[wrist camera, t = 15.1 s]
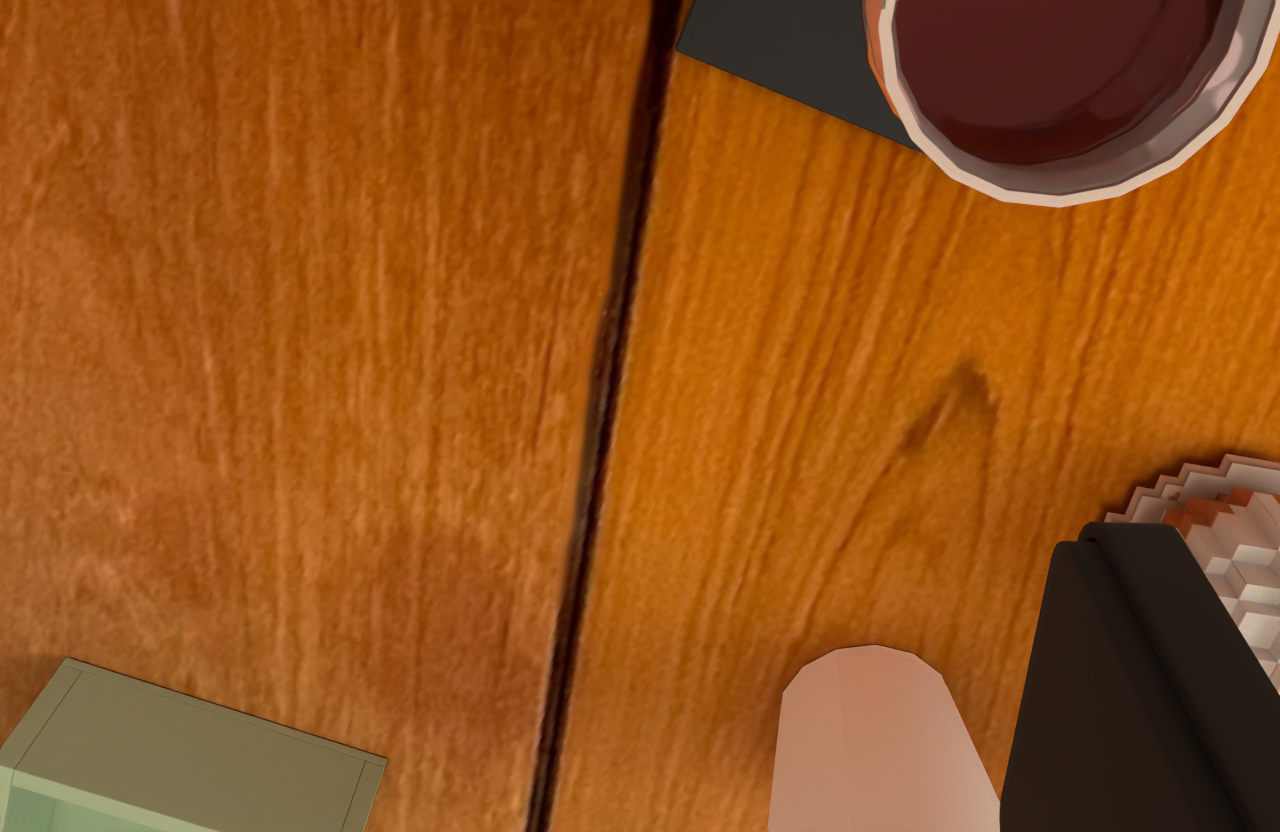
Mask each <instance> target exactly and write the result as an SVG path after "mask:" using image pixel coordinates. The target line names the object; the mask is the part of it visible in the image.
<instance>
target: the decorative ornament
mask: <svg viewBox="0 0 1280 832" xmlns="http://www.w3.org/2000/svg"><path fill="white" fill-rule="evenodd" d="M1104 522H1122V523H1166V524H1169V525H1172V526H1173V527H1174V528H1175V529H1176V530H1177V531H1178V532H1179V533H1180V535H1181V536H1182V538H1183V540H1184V541H1185V543H1186V544H1187V546H1188V548H1189V549H1190V551H1191V553H1192V554H1193V556H1194V557H1195V559H1196V561H1197V562H1198V564H1199V565H1200V567H1201V569H1202V570H1203V572H1204V574H1205V575H1206V577H1207V578H1208V580H1209V582H1210V583H1211V585H1212V586H1213V588H1214V590H1215V591H1216V593H1217V595H1218V596H1219V598H1220V599H1221V601H1222V603H1223V604H1224V606H1225V608H1226V609H1227V611H1228V612H1229V614H1230V616H1231V617H1232V619H1233V620H1234V622H1235V624H1236V625H1237V627H1238V629H1239V630H1240V632H1241V633H1242V635H1243V637H1244V638H1245V640H1246V641H1247V643H1248V645H1249V646H1250V648H1251V650H1252V651H1253V653H1254V654H1255V656H1256V658H1257V659H1258V661H1259V662H1260V664H1261V666H1262V667H1263V669H1264V671H1265V672H1266V674H1267V675H1268V677H1269V679H1270V680H1271V682H1272V684H1273V685H1274V687H1275V688H1276V690H1277V692H1278V693H1279V695H1280V463H1278V462H1272V461H1266V460H1260V459H1254V458H1249V457H1243V456H1237V455H1231V454H1225V456H1224V458H1223V460H1222V462H1221V464H1220V467H1219V469H1218V468H1213V467H1207V466H1201V465H1195V464H1189V463H1184V464H1183V467H1182V469H1181V471H1180V473H1179V475H1178V477H1172V476H1166V475H1160V477H1159V479H1158V481H1157V484H1156V486H1155V488H1154V489H1150V488H1144V487H1138V486H1137V488H1136V490H1135V492H1134V495H1133V497H1132V499H1131V501H1130V504H1129V506H1128V508H1127V511H1126V513H1125V515H1122V514H1116V513H1110V512H1108V513H1107V515H1106V518H1105V520H1104Z"/></svg>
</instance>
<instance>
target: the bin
mask: <svg viewBox="0 0 1280 832" xmlns="http://www.w3.org/2000/svg"><path fill="white" fill-rule="evenodd" d="M386 763H387V759H385V758H382V757H379V756H376V755H373V754H370V753H367V752H363V751H360V750H357V749H354V748H351V747H348V746H345V745H341V744H338V743H335V742H332V741H329V740H326V739H323V738H319V737H316V736H313V735H310V734H307V733H304V732H301V731H297V730H294V729H291V728H288V727H285V726H282V725H279V724H275V723H272V722H269V721H266V720H263V719H260V718H256V717H253V716H250V715H247V714H244V713H241V712H238V711H234V710H231V709H228V708H225V707H222V706H219V705H216V704H212V703H209V702H206V701H203V700H200V699H197V698H194V697H190V696H187V695H184V694H181V693H178V692H175V691H172V690H168V689H165V688H162V687H159V686H156V685H153V684H149V683H146V682H143V681H140V680H137V679H134V678H131V677H127V676H124V675H121V674H118V673H115V672H112V671H109V670H105V669H102V668H99V667H96V666H93V665H90V664H87V663H83V662H80V661H77V660H74V659H71V658H68V657H66V658H65V660H64V661H63V662H62V664H61V665H60V667H59V668H58V669H57V671H56V672H55V674H54V675H53V676H52V678H51V679H50V680H49V682H48V683H47V685H46V686H45V687H44V689H43V690H42V691H41V693H40V694H39V696H38V697H37V698H36V700H35V701H34V703H33V704H32V705H31V707H30V708H29V709H28V711H27V712H26V714H25V715H24V716H23V718H22V719H21V720H20V722H19V723H18V725H17V726H16V727H15V729H14V730H13V732H12V733H11V734H10V736H9V737H8V738H7V740H6V741H5V743H4V744H3V745H2V747H1V748H0V832H364V830H365V827H366V824H367V821H368V818H369V815H370V812H371V809H372V805H373V802H374V799H375V796H376V793H377V790H378V787H379V784H380V781H381V778H382V775H383V772H384V768H385V766H386Z"/></svg>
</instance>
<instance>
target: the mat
mask: <svg viewBox="0 0 1280 832" xmlns="http://www.w3.org/2000/svg"><path fill="white" fill-rule="evenodd" d="M859 1H860V0H694V1H693V4H692V6H691V9H690V11H689V14H688V16H687V19H686V21H685V24H684V26H683V29H682V31H681V34H680V36H679V39H678V42H677V44H676V51H678V52H680V53H683V54H685V55H688V56H690V57H692V58H695V59H697V60H700V61H702V62H705V63H707V64H709V65H712V66H714V67H717V68H719V69H721V70H724V71H726V72H729V73H731V74H734V75H736V76H738V77H741V78H743V79H746V80H748V81H750V82H753V83H755V84H758V85H760V86H763V87H765V88H767V89H770V90H772V91H775V92H777V93H779V94H782V95H784V96H787V97H789V98H792V99H794V100H796V101H799V102H801V103H804V104H806V105H808V106H811V107H813V108H816V109H818V110H821V111H823V112H825V113H828V114H830V115H833V116H835V117H837V118H840V119H842V120H845V121H847V122H850V123H852V124H854V125H857V126H859V127H862V128H864V129H866V130H869V131H871V132H874V133H876V134H879V135H881V136H883V137H886V138H888V139H891V140H893V141H895V142H898V143H900V144H903V145H905V146H908V147H910V148H912V149H915V150H917V151H920V152H922V153H924V154H926V153H925V152H924V151H923V150H922V149H921V148H920V147H918V146H917V145H916V144H915V143H914V142H913V141H912V140H911V138H910V136H909V134H908V132H907V130H906V128H905V126H904V124H903V122H902V121H901V120H900V119H899V118H898V117H897V116H896V115H895V114H894V113H893V111H892V109H891V107H890V105H889V103H888V101H887V99H886V97H885V95H884V93H883V91H882V89H881V87H880V85H879V83H878V81H877V79H876V77H875V75H874V72H873V70H872V68H871V66H870V64H869V62H868V60H867V57H866V50H865V42H864V35H863V27H862V19H861V12H860V4H859Z"/></svg>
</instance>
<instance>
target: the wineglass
mask: <svg viewBox="0 0 1280 832" xmlns="http://www.w3.org/2000/svg"><path fill="white" fill-rule="evenodd" d="M859 4H860V12H861V19H862V27H863V35H864V42H865V50H866V57H867V60H868V62H869V64H870V66H871V68H872V70H873V72H874V75H875V77H876V79H877V81H878V83H879V85H880V87H881V89H882V91H883V93H884V95H885V97H886V99H887V101H888V103H889V105H890V107H891V109H892V111H893V113H894V114H895V115H896V116H897V117H898V118H899V119H900V120H901V121H902V122H903V124H904V126H905V128H906V130H907V132H908V134H909V136H910V138H911V140H912V141H913V142H914V143H915V144H916V145H917V146H918V147H920V148H921V149H922V150H923V151H924V152H925V153H926V154H927V155H928V156H929V157H930V158H931V159H932V160H933V161H934V162H935V163H936V164H937V165H938V166H939V167H940V168H941V169H942V170H943V171H944V172H945V173H946V174H947V175H948V176H949V177H950V178H952V179H954V180H956V181H958V182H961V183H963V184H965V185H967V186H969V187H972V188H974V189H976V190H978V191H980V192H983V193H985V194H987V195H989V196H991V197H994V198H996V199H998V200H1000V201H1003V202H1013V203H1022V204H1031V205H1040V206H1050V207H1059V208H1060V207H1065V206H1071V205H1076V204H1081V203H1087V202H1092V201H1097V200H1102V199H1108V198H1113V197H1118V196H1121V195H1123V194H1125V193H1127V192H1129V191H1131V190H1133V189H1136V188H1138V187H1140V186H1142V185H1144V184H1146V183H1148V182H1150V181H1152V180H1154V179H1156V178H1158V177H1160V176H1162V175H1164V174H1166V173H1168V172H1170V171H1172V170H1174V169H1176V168H1178V167H1179V166H1180V165H1181V164H1183V163H1184V162H1185V161H1186V160H1187V159H1188V158H1190V157H1191V156H1192V155H1193V154H1194V153H1195V152H1196V151H1198V150H1199V149H1200V148H1201V147H1202V146H1203V145H1205V144H1206V143H1207V142H1208V141H1209V140H1210V139H1212V138H1213V137H1214V136H1215V135H1216V134H1217V133H1218V132H1220V131H1221V130H1222V129H1223V128H1224V127H1225V126H1227V125H1228V124H1229V122H1230V121H1231V119H1232V118H1233V116H1234V115H1235V113H1236V112H1237V110H1238V109H1239V108H1240V106H1241V105H1242V103H1243V102H1244V100H1245V99H1246V97H1247V96H1248V94H1249V93H1250V92H1251V90H1252V89H1253V87H1254V86H1255V84H1256V83H1257V81H1258V80H1259V78H1260V77H1261V76H1262V74H1263V73H1264V71H1265V70H1266V68H1267V65H1268V63H1269V60H1270V57H1271V54H1272V51H1273V48H1274V45H1275V42H1276V39H1277V36H1278V34H1279V31H1280V0H860V1H859Z"/></svg>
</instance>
